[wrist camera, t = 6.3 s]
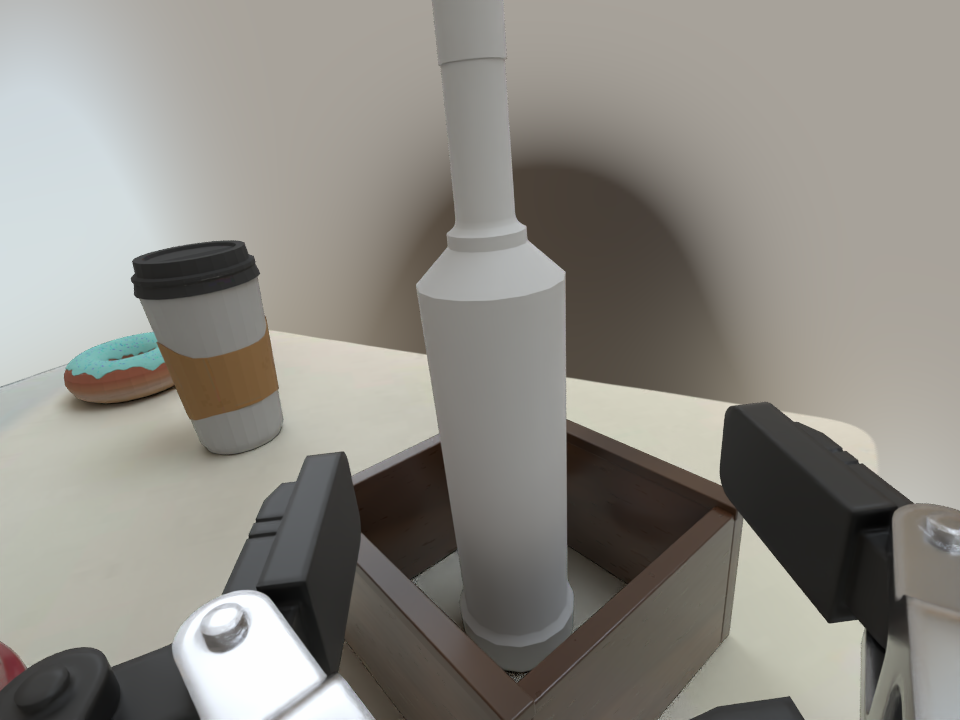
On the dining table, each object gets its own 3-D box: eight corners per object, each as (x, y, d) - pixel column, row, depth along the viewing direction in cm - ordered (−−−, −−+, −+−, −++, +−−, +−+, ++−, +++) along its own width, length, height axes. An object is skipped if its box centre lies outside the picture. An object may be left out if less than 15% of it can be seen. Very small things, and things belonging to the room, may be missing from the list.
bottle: (490, 697, 22) (403, -40, 13) (447, 606, 27) (358, 9, 17) (598, 647, 24) (595, -38, 14) (541, 569, 29) (509, 6, 19)
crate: (325, 618, 27) (293, 495, 24) (516, 498, 34) (508, 393, 31) (524, 882, 17) (508, 726, 14) (733, 633, 24) (750, 497, 21)
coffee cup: (316, 428, 45) (272, 243, 39) (212, 477, 39) (144, 271, 34) (269, 401, 50) (225, 236, 44) (173, 440, 45) (108, 258, 39)
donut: (194, 394, 53) (182, 356, 52) (53, 421, 50) (35, 382, 49) (210, 352, 64) (200, 319, 62) (94, 373, 61) (81, 339, 59)
